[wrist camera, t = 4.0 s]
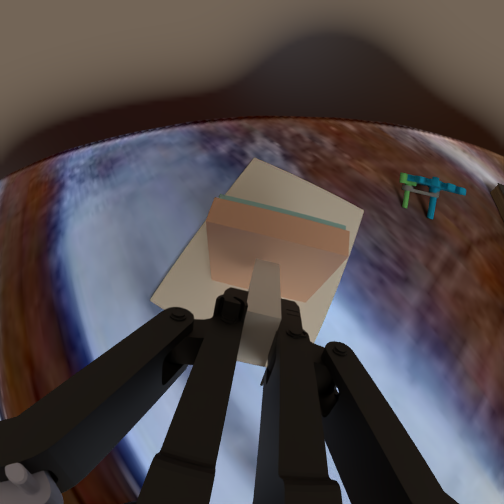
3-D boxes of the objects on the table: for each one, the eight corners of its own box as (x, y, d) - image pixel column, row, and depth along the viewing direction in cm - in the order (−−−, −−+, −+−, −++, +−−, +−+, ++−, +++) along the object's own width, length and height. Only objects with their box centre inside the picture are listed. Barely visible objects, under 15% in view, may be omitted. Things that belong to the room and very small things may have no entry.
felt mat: (362, 212, 31) (364, 210, 31) (294, 380, 22) (295, 380, 22) (254, 159, 33) (254, 157, 33) (150, 301, 24) (149, 300, 24)
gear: (445, 182, 34) (480, 188, 25) (440, 217, 36) (473, 231, 27) (387, 167, 36) (414, 168, 26) (383, 206, 38) (408, 217, 28)
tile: (305, 302, 25) (348, 256, 16) (211, 280, 25) (205, 221, 16) (308, 279, 26) (349, 224, 17) (218, 257, 26) (217, 191, 17)
